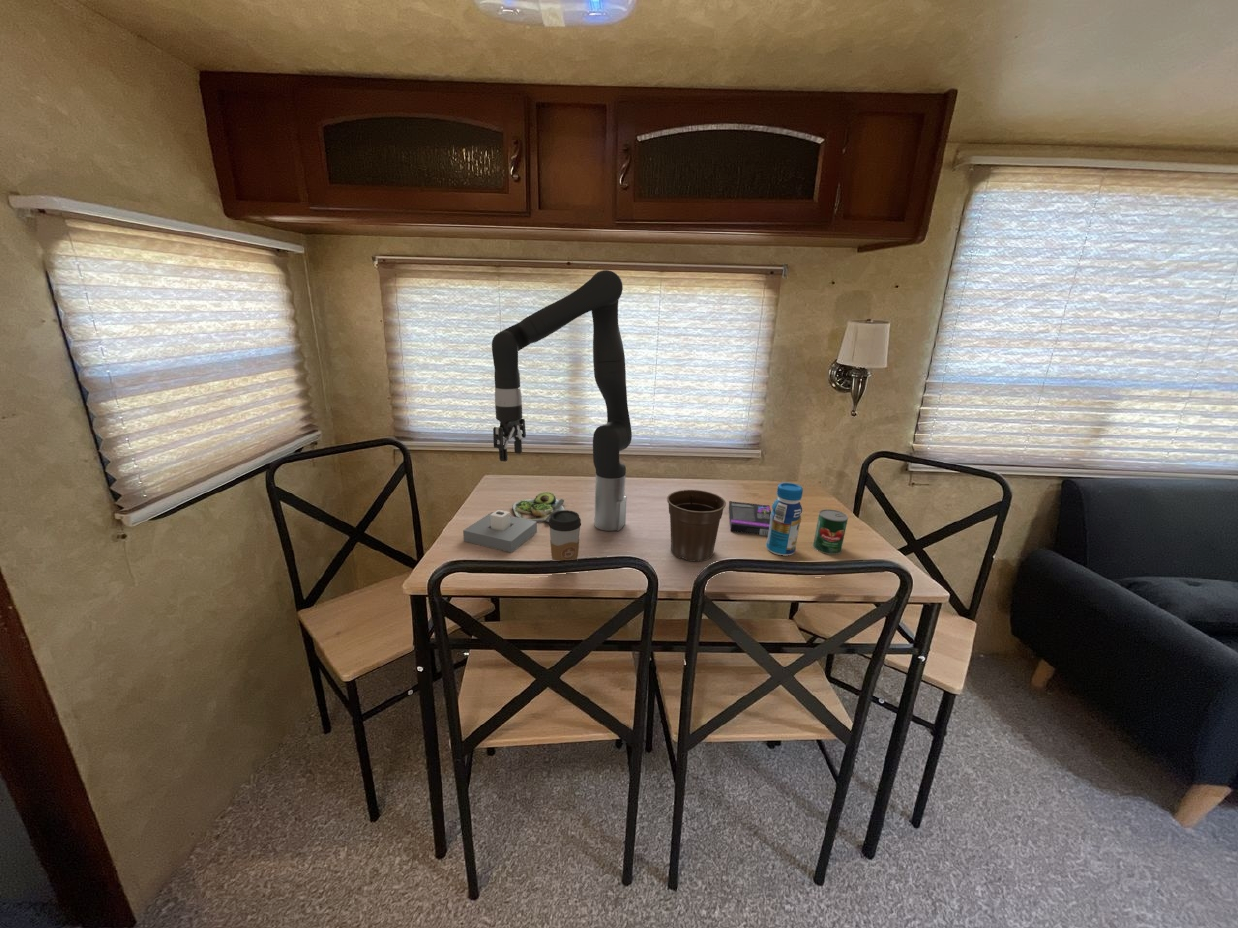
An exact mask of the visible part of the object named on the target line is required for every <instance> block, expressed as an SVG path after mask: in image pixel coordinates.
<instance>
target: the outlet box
mask: <svg viewBox="0 0 1238 928" xmlns="http://www.w3.org/2000/svg"><path fill="white" fill-rule="evenodd" d="M492 513H494V512H493V511H492V512H490V513H488V514H487V515H485V516H483V517H481V518H480V519H479V520H477V521H476V522H473V524H470V526H468V527H466V528H465V529H463V530H462V534H463V542H464V543H470V544H473V545H479V546H480V547H481V546H482V547H487V548H490V549H495V550H499V551H502V550H504V551H503V552H506V551H508V552H507V553H511V552H512V553H513V552H515V551H516V550H517V549H518V548H519V547H521V546H522V545H523V544H524V543H525V542H527V541H528V540H530V538H532V537H531V536H532V535H533V536H534V535H536V533H538V525H537V523H538V522H536V521H531V520H527V519H522V518H517V517H516V516H512V515H510V527H509V528H508V529H507V530H505V531H504V532H503V531H499V530H494V529H491V518H490V515H491V514H492ZM515 549H516V550H515Z"/></svg>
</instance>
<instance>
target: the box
mask: <svg viewBox="0 0 1238 928" xmlns="http://www.w3.org/2000/svg"><path fill="white" fill-rule="evenodd" d="M770 506H771V505H768V504H758V503H750V502H741V501H740V502H738V501H731V500H729V501H728V517H729V518H728V519H729V528H730V529H729V531H730V533H731V532H732V533H740V534H751V535H757V534H758V536H766V535H767V537H768V532H769V525H770V514H771V512H772V510H771V507H770Z"/></svg>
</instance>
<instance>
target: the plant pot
mask: <svg viewBox="0 0 1238 928" xmlns="http://www.w3.org/2000/svg"><path fill="white" fill-rule="evenodd" d="M666 502H667V503H668V513H669V517H670V519H669V521H670V522H669V523H670V526H669V527H670V552H671V553H672V554H673V555H674V556H675V557H677V558H679V559H685V560H686V561H687V562H688V561H689V562H703V561H707V560H709V559H710V558H711V557H712V556H713V555H714V551H715V547H716V546H715V545H716V542H717V537H718V532H719V531H718V530H719V527H720V522H721V519H722V518H723V512H724V510H725V508H726V505H727V502H726V500H725V499H724V498H723V497H721V496H720V495H718V494H715V493H712V492H709V491H706V490H699V489H682V490H681V489H680V490H677V491H674V492H673V491H672V492H670V494H668V496H667V497H666Z"/></svg>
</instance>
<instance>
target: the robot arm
mask: <svg viewBox="0 0 1238 928" xmlns="http://www.w3.org/2000/svg"><path fill="white" fill-rule="evenodd" d="M623 290H624V289H623V281H622V279H621V277H620V276H619V275H618V274H617V273H616V272H614V271H612V270H608V269H607V270H606V269H605V270H604V269H603V270H600V271H598V272H596V273H595V274H594V275H592V277H590V279H589V280H587V281H586V282H585V283H584V284H583V285H582V286H580V287H579V288H577V289H576V290H573V292H571V293H570V294H568V295H566V296H565V297H563V298H560V299H559V300H557V301H555V302H553V303H550V304H548V305H546V306H545V307H543V308H541V309H539V310H537V311H535V312H533V313H532V314H530V315H528V316H526V317H525V318H524V319H522V320H521V321H519V322H517V323H516V324H513V325H510V326H508V327H507V328H504V329H503V330H501V331H499V332H497V333H496V334H495V335H494V337H493V338H492V341H491V352H492V361H493V367H494V374H493V375H494V406H495V407H494V408H495V419H496V420H497V421H498V422H499V427H498V426H493V428H492V429H493V431H492V432H493V433H492V434H493V435H492V437H493V439H492V440H493V448H494V449H498V455H499V461H500V462H505V463H506V462H507V461H508V460H509V459H508V445H509V443H510V442H511V440H512V439H513V445H514V446H513V448H514V453H515V454H517V455H518V454H519V455H520V454H522V453H523V445H522V444H523V443H522V442H523V440H524V439H525V438H526V436H527V435H526V433H527V432H526V421H525V418H523V401H522V400H523V399H522V398H523V397H522V390H521V374H520V370H519V351H521V350H522V349H524V348H526V347H528V346H529V345H531V344H534V343H537V342H539V341H541V340H543V339H545V338H547V337H548V336H551V335H552V334H553V333H555V332H557V331H559V330H561V329H562V328H564V327H565V326H567V325H568V324H569V323H572V322H573V321H574V320H576V319H577V318H579V317H581V316H583V315H585V314H586V313H589V312H591V317H592V324H593V325H592V327H593V332H592V359H593V360H592V362H593V374H594V375H593V376H594V380H595V384H596V386H597V388H598V390H599V392H600V394H601V396H602V397H603V400H604V402H605V407H606V416H607V419H606V420H607V421H606V422H607V423H605V424H601V425H599V426H597V428H595V430H594V432H593V436H592V461H593V466H594V467H595V481H594V482H595V486H594V489H595V490H594V519H593V520H594V522H593V523H594V527H596V528H597V529H598V530H600V531H609V532H611V531H618V532H620V531H621V529H622V528H623V527H624V526H625V525H626V521H627V520H626V519H627V500H628V497H627V496H626V495H625V494H626V492H625V491H626V471H627V468H626V467H627V466H626V465H625V464H624V463H623V462H621V461H620V452H621V451H624V450H626V449H627V448H628V447H630V444H631V443H632V437H633V435H632V433H633V432H632V426H631V420H630V414H629V413H630V412H629V406H628V394H627V378H626V377H627V376H626V375H627V373H626V370H627V369H626V358H625V357H626V356H625V349H624V345H623V340H622V336H621V331H620V327H619V300H620V298H621V297H622V294H623Z"/></svg>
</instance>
